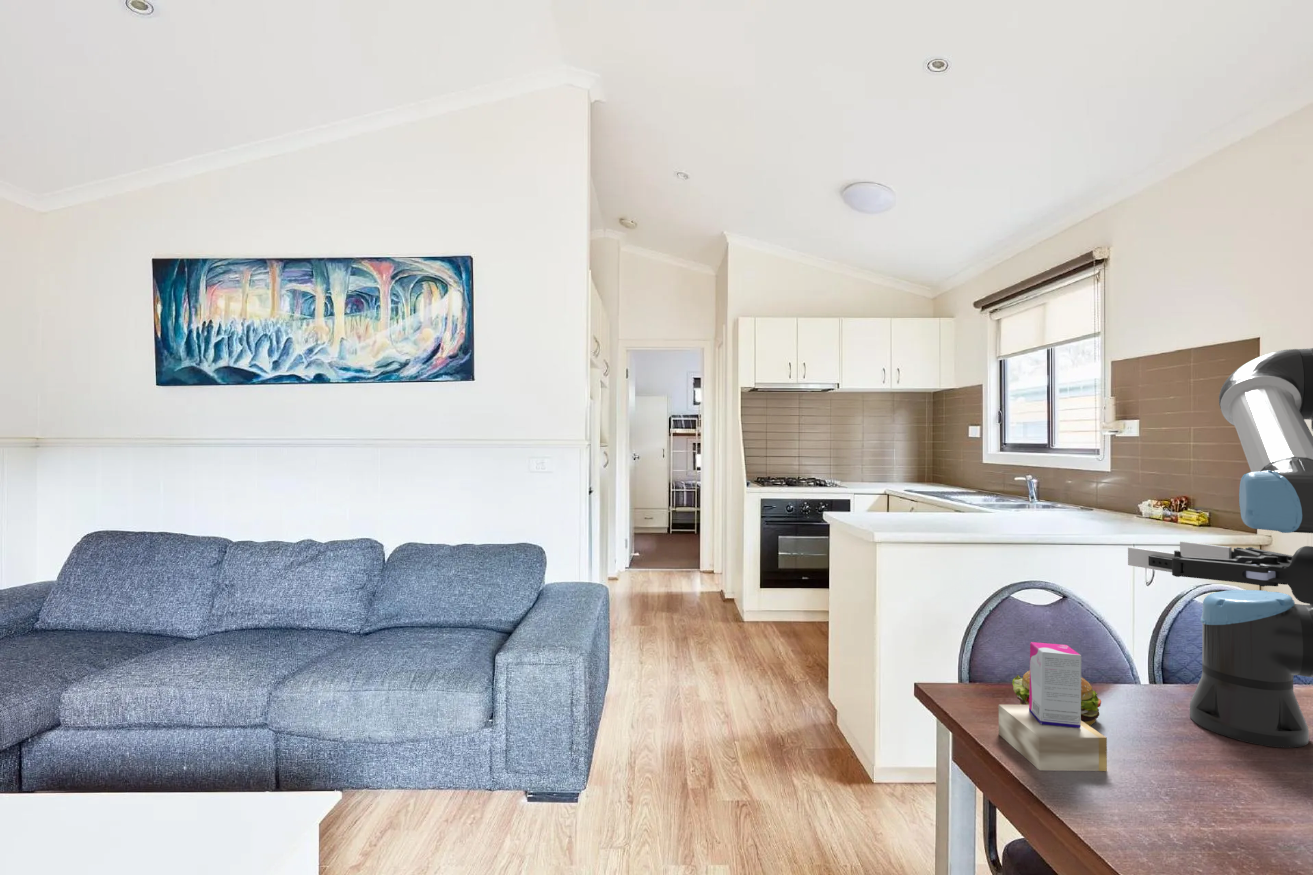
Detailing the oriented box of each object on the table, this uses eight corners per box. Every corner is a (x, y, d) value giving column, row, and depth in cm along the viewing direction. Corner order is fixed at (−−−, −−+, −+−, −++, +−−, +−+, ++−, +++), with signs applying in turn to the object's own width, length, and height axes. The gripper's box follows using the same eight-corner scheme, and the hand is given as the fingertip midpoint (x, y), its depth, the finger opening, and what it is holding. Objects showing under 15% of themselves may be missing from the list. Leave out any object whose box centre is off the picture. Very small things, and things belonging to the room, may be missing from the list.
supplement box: (1082, 729, 100) (1082, 654, 100) (1040, 725, 101) (1040, 652, 101) (1067, 713, 105) (1067, 643, 105) (1027, 710, 107) (1027, 640, 107)
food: (1021, 693, 127) (1021, 652, 127) (1107, 714, 117) (1107, 670, 117) (999, 714, 117) (999, 670, 117) (1091, 739, 107) (1091, 691, 107)
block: (1106, 770, 97) (1106, 737, 97) (1039, 770, 97) (1039, 737, 97) (1058, 734, 109) (1058, 704, 109) (998, 734, 109) (998, 704, 109)
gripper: (1291, 620, 77) (1106, 583, 96) (1386, 598, 87) (1201, 569, 107) (1291, 557, 77) (1105, 533, 96) (1386, 543, 87) (1201, 524, 107)
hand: (1155, 552), depth 102 cm, fingers open, 13 cm apart
